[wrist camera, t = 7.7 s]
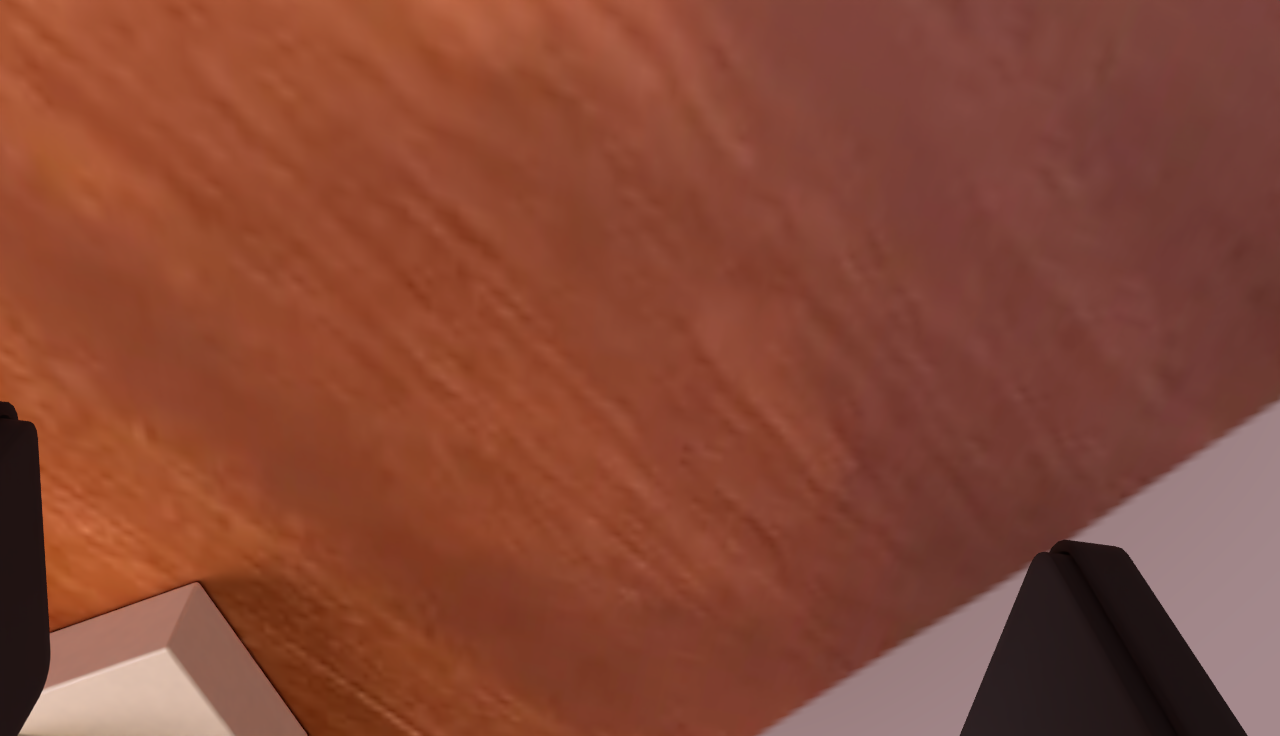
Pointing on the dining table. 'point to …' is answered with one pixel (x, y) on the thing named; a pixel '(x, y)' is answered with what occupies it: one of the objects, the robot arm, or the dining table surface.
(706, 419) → the dining table surface
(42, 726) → the control block
